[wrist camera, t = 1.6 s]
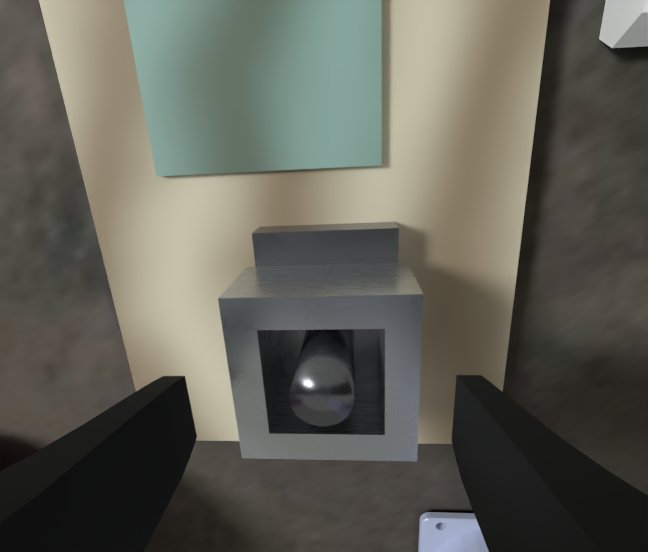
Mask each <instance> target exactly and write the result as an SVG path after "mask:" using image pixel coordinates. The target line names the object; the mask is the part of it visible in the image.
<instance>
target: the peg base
mask: <svg viewBox="0 0 648 552" xmlns="http://www.w3.org/2000/svg"><path fill="white" fill-rule="evenodd" d="M252 240H253V249H254V258H255V267H257V266H294V265H331V264H368V263H398V253H399V227H398V226H397V224H396V223H395V222H373V223H346V224H319V225H291V226H264V227H259V228H258V229H256V230H255V231H254V232H253V233H252ZM281 335H282V345H283V356H284V366H285V377H286V378H293V382H292V386H291V390H290V395H289V400H290V405H291V407H292V409H293V411H294V412H295V414H296V415H297V416H298V417H299V418H300V419H302V420H303V421H305V422H307V423H309V424H312V425H316V426H331V425H335V424H338V423H340V422H342V421H343V420H344V419H346V418H347V417H348V416H349V414H350V413H351V411H352V409H353V405H354V378H378V329H329V330H281Z"/></svg>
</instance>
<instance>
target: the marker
mask: <svg viewBox="0 0 648 552" xmlns="http://www.w3.org/2000/svg"><path fill="white" fill-rule="evenodd" d="M599 40H601V41H602V42H604V43H605V44H606V45H608V46H609V47H611V48H626V47H644V46H648V0H606V3H605V8H604V14H603V20H602V25H601V31H600V37H599Z"/></svg>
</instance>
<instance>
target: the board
mask: <svg viewBox="0 0 648 552" xmlns="http://www.w3.org/2000/svg"><path fill="white" fill-rule="evenodd" d="M39 2H40V6H41V10H42V14H43V18H44V22H45V26H46V30H47V34H48V38H49V42H50V46H51V51H52V55H53V59H54V63H55V67H56V71H57V75H58V79H59V83H60V87H61V91H62V95H63V99H64V103H65V107H66V111H67V115H68V119H69V123H70V127H71V131H72V135H73V139H74V143H75V147H76V151H77V155H78V159H79V164H80V168H81V172H82V176H83V180H84V184H85V188H86V192H87V196H88V200H89V204H90V208H91V212H92V216H93V220H94V224H95V228H96V232H97V236H98V240H99V244H100V248H101V252H102V256H103V260H104V264H105V268H106V272H107V277H108V281H109V285H110V289H111V293H112V297H113V301H114V305H115V309H116V313H117V317H118V321H119V325H120V329H121V333H122V337H123V341H124V345H125V349H126V353H127V357H128V361H129V365H130V369H131V373H132V377H133V381H134V385H135V390H136V391H138V390H140V389H141V388H143V387H145V386H146V385H148V384H150V383H151V382H153V381H155V380H157V379H159V378H161V377H162V376H185V379H186V384H187V389H188V394H189V399H190V404H191V409H192V414H193V419H194V424H195V429H196V434H197V438H196V440H205V441H239V435H238V428H237V422H236V415H235V408H234V402H233V395H232V388H231V382H230V375H229V369H228V362H227V355H226V349H225V342H224V336H223V329H222V322H221V316H220V309H219V303H218V298H219V297H220V295H221V294H222V293H223V292H224V291H225V290H226V289H227V288H228V287H229V286H230V285H231V284H232V283H233V281H234V280H235V279H236V278H237V277H238V276H239V275H240V274H241V273H242V272H243V271H244V270H245V269H246V267H255V258H254V249H253V240H252V233H253V232H254V231H255V230H256V229H258V228H259V227H264V226H291V225H319V224H346V223H373V222H395V223H396V224H397V226H398V227H399V253H398V263H405V262H407V263H408V265H409V267H410V269H411V271H412V273H413V275H414V277H415V279H416V281H417V283H418V285H419V287H420V289H421V291H422V293H423V317H422V344H421V370H420V397H419V423H418V444H452V428H453V415H454V401H455V388H456V375H482V376H483V377H484V378H486V379H487V380H488V381H490V382H491V383H492V384H493V385H495V386H496V387H497V388H498V389H499V390H501V391H502V392H503V385H504V377H505V368H506V360H507V352H508V344H509V335H510V327H511V319H512V311H513V302H514V294H515V286H516V278H517V269H518V261H519V253H520V245H521V236H522V228H523V220H524V212H525V203H526V195H527V187H528V179H529V170H530V162H531V154H532V146H533V137H534V129H535V121H536V113H537V104H538V96H539V88H540V80H541V71H542V63H543V55H544V47H545V38H546V30H547V22H548V14H549V5H550V0H39Z"/></svg>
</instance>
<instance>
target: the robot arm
mask: <svg viewBox="0 0 648 552" xmlns="http://www.w3.org/2000/svg"><path fill="white" fill-rule="evenodd" d="M196 438H197V434H196V429H195V424H194V419H193V414H192V409H191V404H190V399H189V394H188V389H187V384H186V379H185V376H162V377H161V378H159V379H157V380H155V381H153V382H151V383H150V384H148V385H146V386H145V387H143V388H141V389H140V390H138V391H136V392H135V393H133V394H132V395H130V396H128V397H127V398H125V399H124V400H122V401H120V402H119V403H117V404H116V405H114V406H112V407H111V408H109V409H108V410H106V411H104V412H103V413H101V414H100V415H98V416H96V417H95V418H93V419H92V420H90V421H88V422H87V423H85V424H83V425H82V426H80V427H78V428H77V429H75V430H73V431H71V432H70V433H68V434H66V435H65V436H63V437H61V438H60V439H58V440H56V441H54V442H53V443H51V444H49V445H48V446H46V447H44V448H42V449H41V450H39V451H37V452H35V453H34V454H32V455H30V456H28V457H26V458H24V459H23V460H21V461H19V462H17V463H15V464H13V465H11V466H9V467H7V468H6V469H4V470H2V471H0V552H143V551H144V549H145V547H146V545H147V543H148V541H149V539H150V537H151V535H152V533H153V532H154V530H155V528H156V526H157V524H158V522H159V520H160V518H161V516H162V514H163V513H164V511H165V509H166V507H167V505H168V503H169V501H170V499H171V497H172V495H173V493H174V491H175V489H176V487H177V485H178V484H179V482H180V480H181V478H182V476H183V473H184V471H185V468H186V466H187V463H188V461H189V458H190V455H191V452H192V450H193V447H194V444H195V441H196ZM452 444H453V448H454V452H455V456H456V460H457V464H458V468H459V472H460V475H461V479H462V482H463V485H464V487H465V490H466V493H467V496H468V498H469V501H470V504H471V506H472V509H473V512H474V513H447V512H426V513H424V514H422V515H421V516H420V522H419V545H418V552H648V496H647V495H646V494H644V493H643V492H641V491H639V490H638V489H636V488H634V487H633V486H631V485H630V484H628V483H626V482H625V481H623V480H622V479H620V478H618V477H617V476H615V475H614V474H612V473H611V472H609V471H608V470H606V469H605V468H603V467H602V466H600V465H599V464H597V463H596V462H594V461H593V460H592V459H590V458H589V457H587V456H586V455H584V454H583V453H582V452H580V451H579V450H577V449H576V448H574V447H573V446H572V445H570V444H569V443H567V442H566V441H565V440H563V439H562V438H561V437H559V436H558V435H557V434H555V433H554V432H553V431H551V430H550V429H549V428H547V427H546V426H545V425H543V424H542V423H541V422H539V421H538V420H537V419H536V418H534V417H533V416H532V415H531V414H529V413H528V412H527V411H525V410H524V409H523V408H522V407H520V406H519V405H518V404H517V403H516V402H514V401H513V400H512V399H511V398H509V397H508V396H507V395H506V394H504V393H503V392H502V391H501V390H499V389H498V388H497V387H496V386H495V385H493V384H492V383H491V382H490V381H488V380H487V379H486V378H484V377H483V376H482V375H456V388H455V401H454V415H453V428H452Z"/></svg>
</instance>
